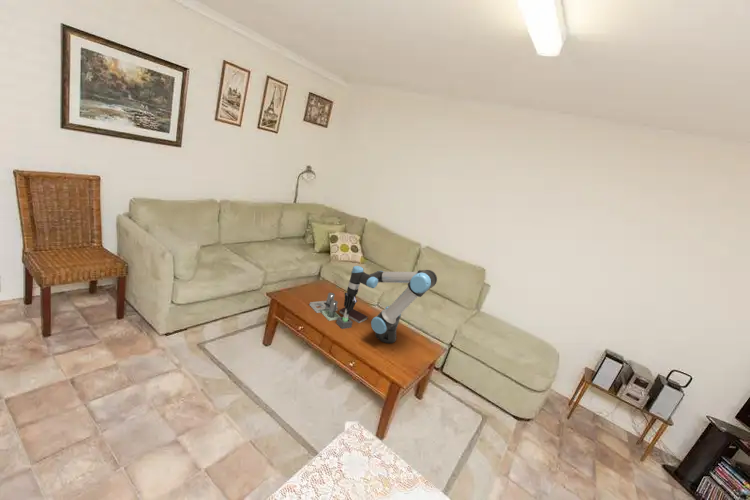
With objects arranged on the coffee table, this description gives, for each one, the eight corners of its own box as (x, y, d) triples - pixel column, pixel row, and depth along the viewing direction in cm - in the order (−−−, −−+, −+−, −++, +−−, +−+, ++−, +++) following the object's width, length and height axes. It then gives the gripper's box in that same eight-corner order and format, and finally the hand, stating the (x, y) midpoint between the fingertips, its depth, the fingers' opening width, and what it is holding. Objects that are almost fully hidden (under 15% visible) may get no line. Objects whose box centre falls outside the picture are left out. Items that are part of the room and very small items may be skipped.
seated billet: (332, 309, 270) (336, 295, 267) (327, 309, 267) (330, 295, 264) (329, 306, 274) (332, 292, 270) (323, 306, 270) (327, 292, 267)
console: (351, 328, 250) (352, 322, 248) (341, 329, 245) (343, 323, 243) (345, 322, 256) (346, 316, 254) (336, 323, 251) (337, 317, 249)
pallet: (337, 311, 269) (337, 307, 268) (316, 313, 257) (317, 309, 257) (329, 303, 277) (330, 300, 277) (309, 305, 266) (310, 302, 265)
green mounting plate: (340, 319, 257) (340, 317, 257) (328, 321, 251) (329, 318, 250) (332, 312, 265) (333, 309, 265) (321, 313, 259) (321, 311, 258)
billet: (335, 317, 258) (339, 303, 254) (329, 318, 255) (333, 303, 251) (332, 314, 261) (335, 299, 258) (326, 314, 258) (329, 300, 255)
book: (347, 309, 278) (348, 305, 277) (367, 319, 269) (368, 315, 268) (338, 313, 267) (339, 309, 266) (358, 324, 259) (359, 320, 258)
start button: (347, 324, 250) (349, 318, 248) (343, 325, 247) (344, 319, 246) (344, 322, 252) (346, 316, 251) (340, 322, 250) (341, 316, 249)
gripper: (362, 291, 240) (354, 321, 246) (352, 283, 249) (345, 312, 255) (354, 292, 235) (346, 322, 241) (343, 283, 244) (336, 313, 251)
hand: (345, 317), depth 248 cm, fingers closed
